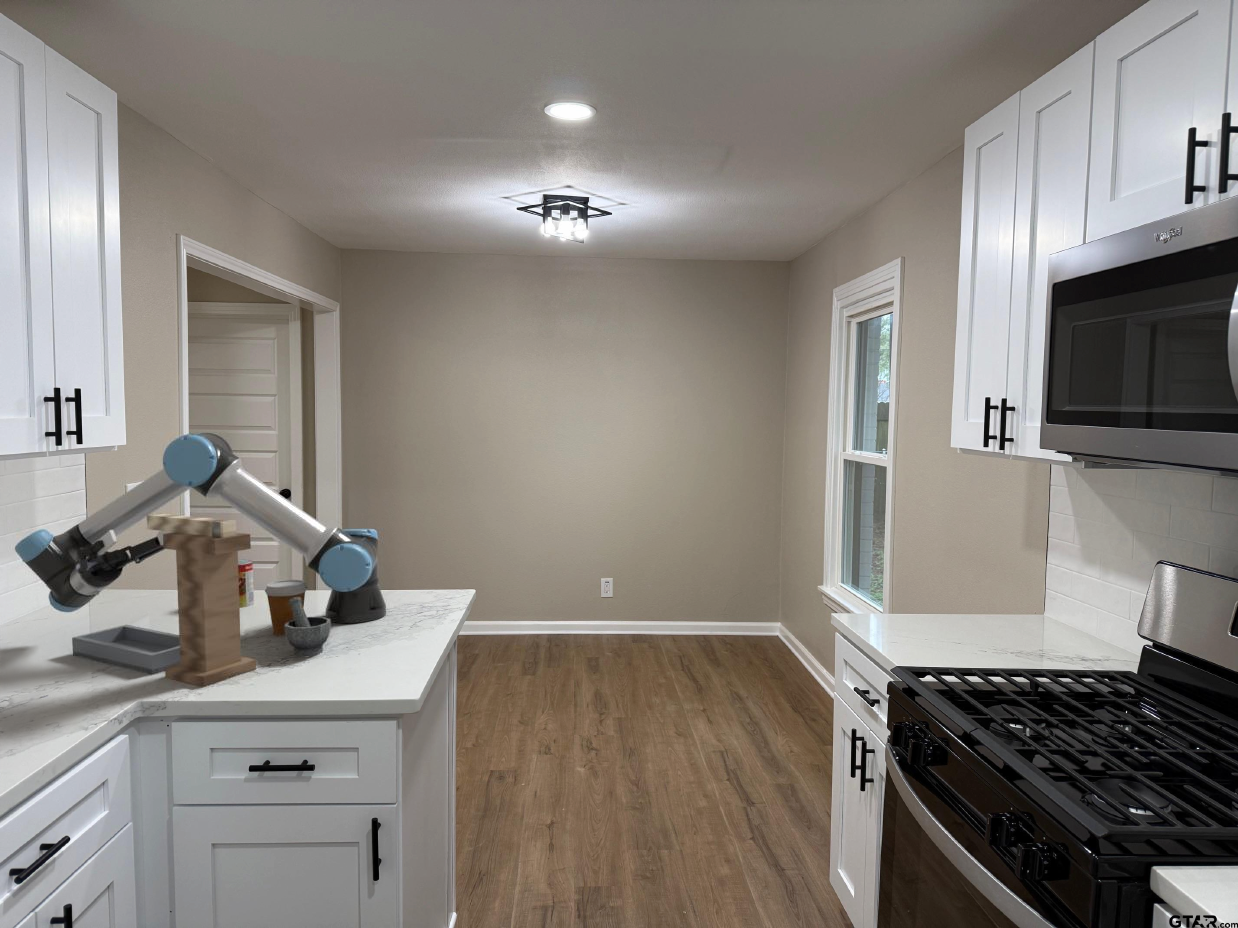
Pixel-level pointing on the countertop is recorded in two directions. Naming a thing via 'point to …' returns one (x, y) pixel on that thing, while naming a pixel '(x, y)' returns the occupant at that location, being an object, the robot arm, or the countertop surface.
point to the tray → (130, 648)
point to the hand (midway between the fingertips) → (145, 531)
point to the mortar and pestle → (306, 631)
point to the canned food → (245, 582)
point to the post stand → (208, 607)
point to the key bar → (192, 525)
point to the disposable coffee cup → (283, 601)
